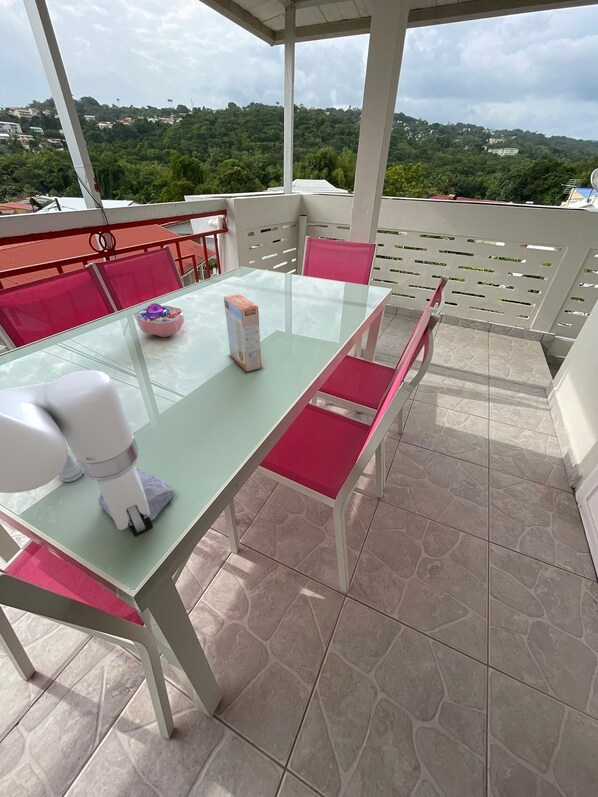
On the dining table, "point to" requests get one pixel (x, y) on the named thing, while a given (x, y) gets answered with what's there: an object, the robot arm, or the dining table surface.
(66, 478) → the rook chess piece
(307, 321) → the dining table surface
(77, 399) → the robot arm
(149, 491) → the stone block
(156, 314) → the cell model
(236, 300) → the cracker box
